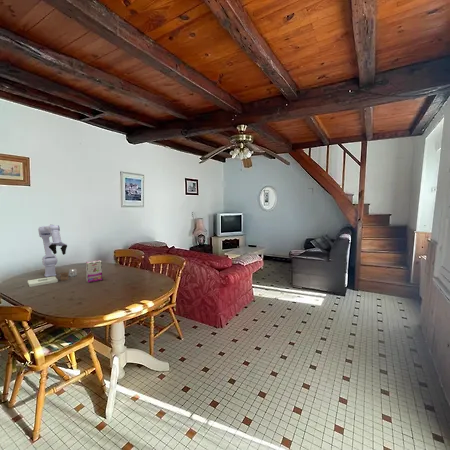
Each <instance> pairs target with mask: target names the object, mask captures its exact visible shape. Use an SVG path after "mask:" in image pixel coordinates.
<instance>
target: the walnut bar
mask: <svg viewBox="0 0 450 450" xmlns="http://www.w3.org/2000/svg"><path fill="white" fill-rule="evenodd" d="M59 277H60V278H59V279H60V282H65V281H69V271H65V272H60V273H59Z"/></svg>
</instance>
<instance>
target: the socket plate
mask: <svg viewBox="0 0 450 450" xmlns="http://www.w3.org/2000/svg"><path fill="white" fill-rule="evenodd" d="M58 282H59V280H58V278H57V277H56V275H55V276H49V277H42V278H41V277H40V278H35V279H28V280H27V284H28V286H29V287H30V288H32V287H37V286H43V285H47V284H48V285H49V284H56V283H58Z"/></svg>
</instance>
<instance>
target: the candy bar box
mask: <svg viewBox="0 0 450 450" xmlns="http://www.w3.org/2000/svg"><path fill="white" fill-rule="evenodd" d="M85 264H86V265H85V267H86V268H85V269H86V270H85V272H86V282H87V283H93V282H99V281H103V262H102V260H100V259H99V260H93V261H86V262H85Z"/></svg>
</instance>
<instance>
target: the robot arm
mask: <svg viewBox="0 0 450 450" xmlns="http://www.w3.org/2000/svg"><path fill="white" fill-rule="evenodd" d="M37 230H38V237H40V238H41V239H42V241H43V242H42V243H43V247H44V254H45V255H44V256H42V259H41V260H42V265H43V266H44V271H45V273H43V274H44V275H43V276H44V278H47V277H53V276H55V277H56V276H57V273H56V266H57V263H58V258H57V256H56V254H57V253H58V250H57V247H60V248H59V249H60V251H61V253H62V255H66V253H67V247H68V244H67V243H64V242H63V241H62V238H61V234H60V231H61V230H60V225H55V224H49V225H41V226H39V227H38V229H37ZM50 237H51V239H52V241H50Z"/></svg>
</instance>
